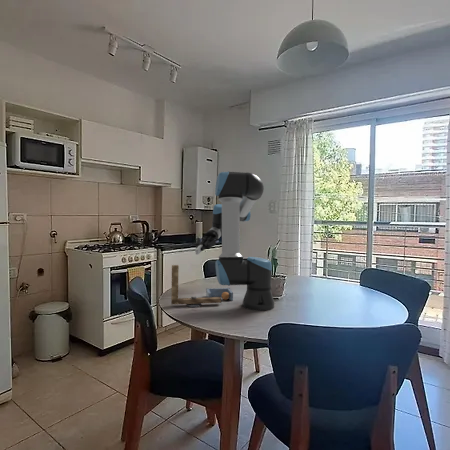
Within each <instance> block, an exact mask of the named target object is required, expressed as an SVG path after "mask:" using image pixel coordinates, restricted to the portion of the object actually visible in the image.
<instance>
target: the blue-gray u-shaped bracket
mask: <svg viewBox="0 0 450 450" xmlns="http://www.w3.org/2000/svg"><path fill="white" fill-rule="evenodd" d="M205 290H206V292H205V293H206V294H205V295H206V297H222V296H221V295H222V293H223V292H228V293H229V298H228V299H229V301H233V300H234V292H233V291H232V289H231V288H230V287H223V288H222V287H217V288H216V287H215V288H212V287H211V288H206V289H205ZM206 297H205V298H206Z"/></svg>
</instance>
